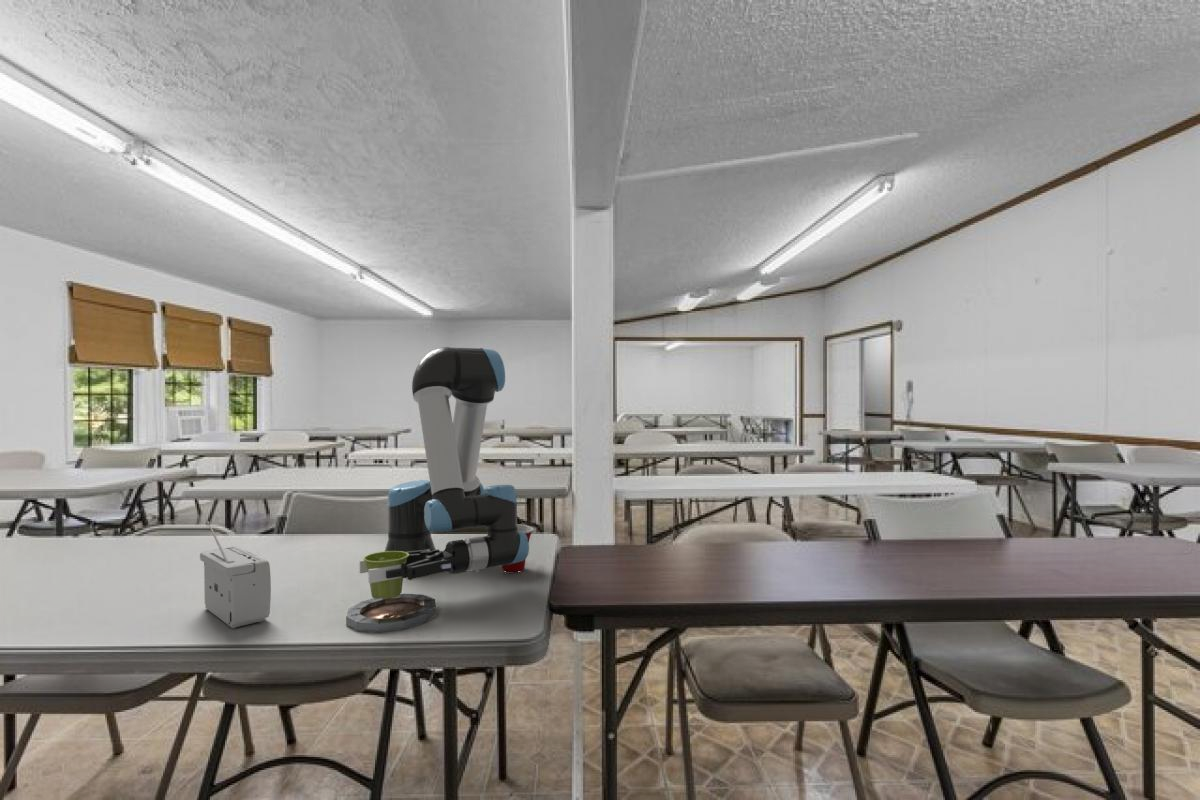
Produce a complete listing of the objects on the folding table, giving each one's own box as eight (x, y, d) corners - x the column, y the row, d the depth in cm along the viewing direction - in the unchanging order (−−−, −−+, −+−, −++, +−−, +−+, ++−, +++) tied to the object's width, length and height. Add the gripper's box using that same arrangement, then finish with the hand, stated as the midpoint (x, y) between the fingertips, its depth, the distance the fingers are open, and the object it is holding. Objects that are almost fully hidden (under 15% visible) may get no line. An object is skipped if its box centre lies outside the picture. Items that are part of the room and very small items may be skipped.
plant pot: (394, 586, 135) (394, 548, 135) (417, 593, 129) (417, 554, 129) (355, 596, 128) (355, 557, 128) (378, 605, 122) (377, 563, 122)
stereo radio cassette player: (272, 621, 125) (271, 527, 125) (228, 632, 119) (227, 534, 119) (239, 600, 139) (239, 515, 139) (198, 609, 133) (198, 521, 133)
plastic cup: (533, 575, 156) (533, 530, 156) (492, 577, 154) (492, 531, 154) (534, 564, 166) (533, 521, 166) (495, 565, 165) (495, 523, 165)
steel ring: (351, 607, 132) (350, 599, 133) (433, 597, 138) (433, 590, 138) (343, 637, 115) (343, 628, 115) (438, 625, 121) (438, 616, 121)
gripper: (482, 581, 130) (375, 602, 117) (450, 561, 147) (354, 577, 135) (482, 548, 130) (375, 564, 117) (450, 531, 147) (354, 544, 135)
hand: (364, 571), depth 126 cm, fingers closed on plant pot, 8 cm apart
